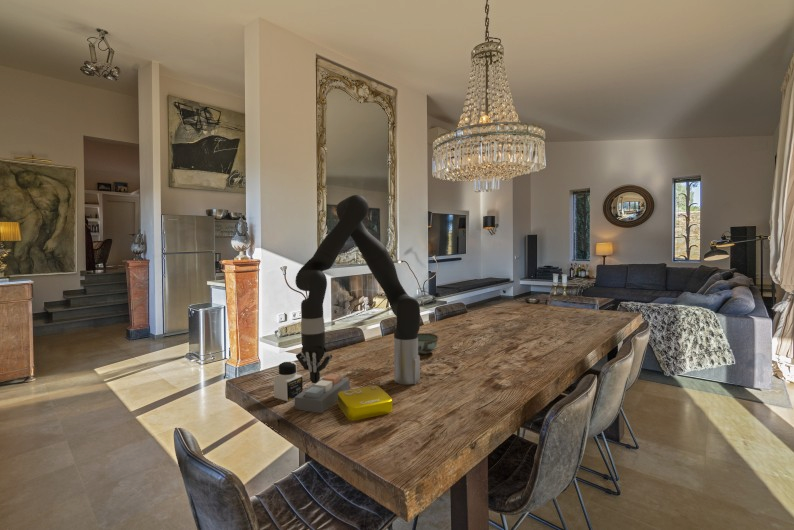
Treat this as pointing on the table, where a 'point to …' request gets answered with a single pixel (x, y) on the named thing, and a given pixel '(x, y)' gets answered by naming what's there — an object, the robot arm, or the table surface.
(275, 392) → the medicine bottle
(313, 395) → the slate key
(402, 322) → the robot arm
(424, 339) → the bowl
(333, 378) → the terracotta key
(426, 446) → the table surface
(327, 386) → the ivory key
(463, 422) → the table surface
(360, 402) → the element tile
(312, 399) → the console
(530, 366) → the table surface
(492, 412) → the table surface
